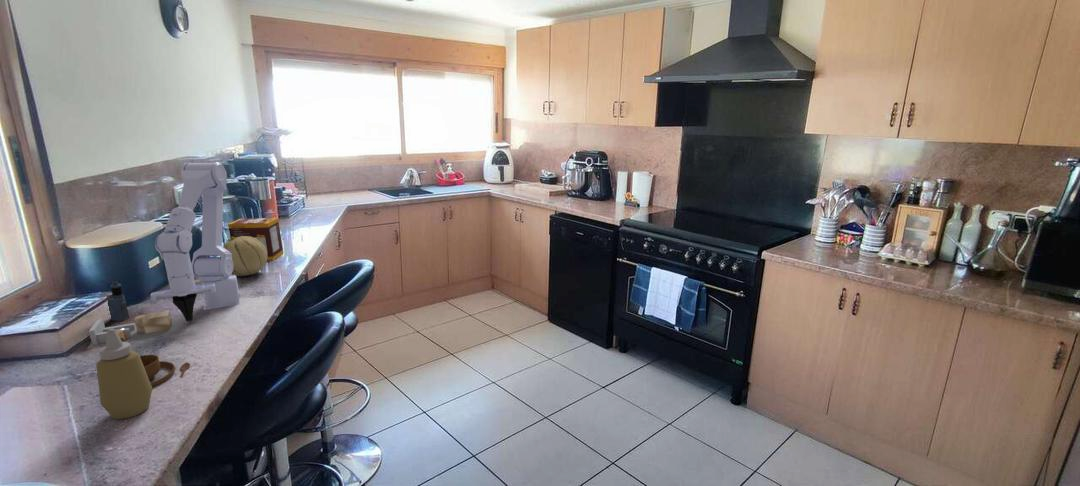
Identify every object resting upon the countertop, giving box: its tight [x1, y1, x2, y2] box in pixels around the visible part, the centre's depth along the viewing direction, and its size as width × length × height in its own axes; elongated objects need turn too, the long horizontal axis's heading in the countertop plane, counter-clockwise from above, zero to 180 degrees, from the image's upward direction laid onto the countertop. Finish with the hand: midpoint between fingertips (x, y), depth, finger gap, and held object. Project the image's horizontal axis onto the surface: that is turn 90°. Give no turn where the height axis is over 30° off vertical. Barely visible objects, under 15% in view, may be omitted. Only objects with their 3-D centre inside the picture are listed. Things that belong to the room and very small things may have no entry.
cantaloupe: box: [222, 236, 268, 277], centre depth 179 cm, size 15×15×15 cm
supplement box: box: [227, 217, 284, 261], centre depth 200 cm, size 10×15×16 cm
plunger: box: [115, 328, 126, 340], centre depth 129 cm, size 3×4×2 cm
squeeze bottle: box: [96, 329, 153, 420], centre depth 97 cm, size 8×8×18 cm
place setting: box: [120, 338, 191, 388], centre depth 114 cm, size 18×20×6 cm
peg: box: [134, 310, 173, 334], centre depth 134 cm, size 8×4×4 cm, turn 119°
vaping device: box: [105, 281, 130, 322], centre depth 140 cm, size 3×5×12 cm, turn 78°
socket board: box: [86, 316, 190, 350], centre depth 133 cm, size 20×12×5 cm, turn 119°
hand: (189, 319), depth 138 cm, fingers closed
